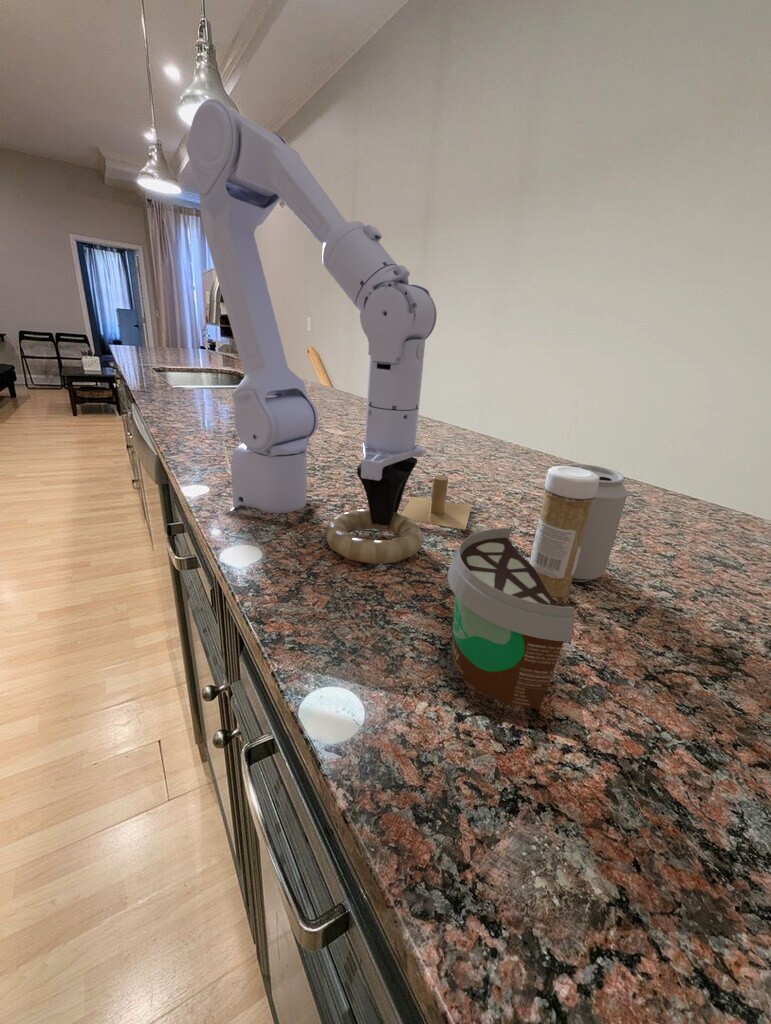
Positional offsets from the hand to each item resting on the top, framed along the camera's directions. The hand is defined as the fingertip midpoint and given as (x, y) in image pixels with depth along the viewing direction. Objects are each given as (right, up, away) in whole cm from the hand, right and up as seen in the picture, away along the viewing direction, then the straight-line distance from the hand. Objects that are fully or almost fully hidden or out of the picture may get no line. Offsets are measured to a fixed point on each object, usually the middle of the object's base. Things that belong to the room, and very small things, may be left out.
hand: (384, 519), depth 54 cm
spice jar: (+17, -8, -8) cm, 20 cm away
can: (+22, -6, -2) cm, 22 cm away
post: (+7, 0, +9) cm, 11 cm away
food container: (+7, -12, -19) cm, 23 cm away
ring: (-1, -2, -4) cm, 4 cm away
